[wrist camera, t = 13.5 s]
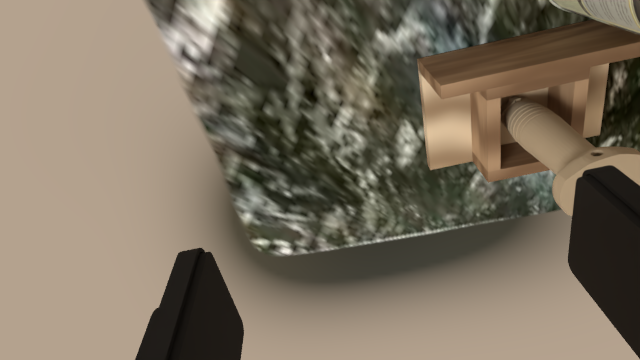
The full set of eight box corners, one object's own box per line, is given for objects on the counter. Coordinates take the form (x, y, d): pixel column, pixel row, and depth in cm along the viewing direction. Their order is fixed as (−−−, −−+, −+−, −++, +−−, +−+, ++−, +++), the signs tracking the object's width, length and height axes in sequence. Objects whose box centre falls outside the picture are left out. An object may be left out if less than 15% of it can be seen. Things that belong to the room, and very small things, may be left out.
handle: (547, 119, 45) (651, 197, 32) (486, 140, 46) (562, 225, 33) (543, 76, 43) (652, 142, 30) (478, 99, 44) (557, 173, 31)
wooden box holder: (417, 58, 42) (440, 85, 36) (607, 16, 41) (669, 35, 34) (427, 164, 48) (449, 205, 42) (593, 130, 47) (643, 166, 40)
